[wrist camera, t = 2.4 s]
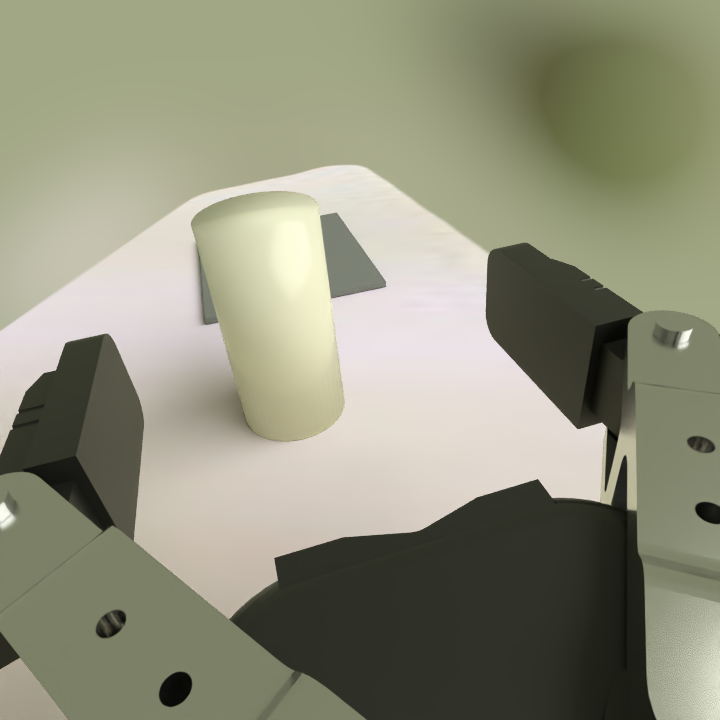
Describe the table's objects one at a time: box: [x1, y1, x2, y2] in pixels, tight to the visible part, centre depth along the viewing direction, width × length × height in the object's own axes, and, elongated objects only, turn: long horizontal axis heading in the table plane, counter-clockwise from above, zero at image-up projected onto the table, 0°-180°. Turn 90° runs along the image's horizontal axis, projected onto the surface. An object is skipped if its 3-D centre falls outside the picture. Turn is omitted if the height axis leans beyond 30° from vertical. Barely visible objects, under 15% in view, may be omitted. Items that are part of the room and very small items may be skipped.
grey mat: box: [200, 213, 386, 324], centre depth 41 cm, size 12×14×1 cm
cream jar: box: [191, 191, 345, 441], centre depth 24 cm, size 5×5×10 cm
